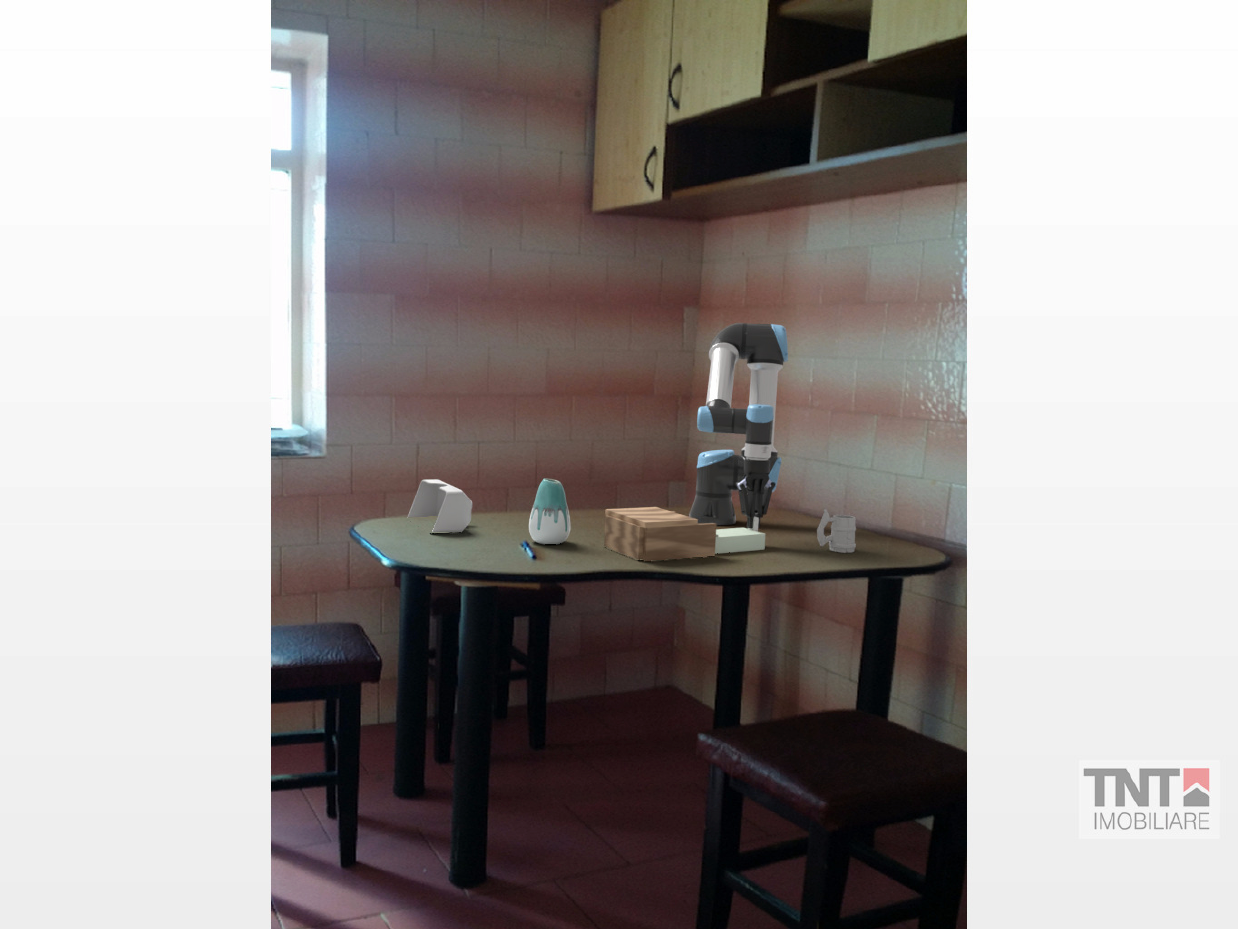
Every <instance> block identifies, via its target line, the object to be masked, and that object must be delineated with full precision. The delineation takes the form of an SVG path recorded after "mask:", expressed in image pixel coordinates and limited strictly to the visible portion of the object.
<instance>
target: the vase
mask: <svg viewBox="0 0 1238 929" xmlns="http://www.w3.org/2000/svg"><path fill="white" fill-rule="evenodd" d="M534 499H535V500H534V502H533V505H532V508H531V512H530V516H529V519H528V532H529V534H530V537H531V539H532V540H533V541H534V542H536V543H538V544H541V545H545V544H556V545H561V544H563V543H564V542H565V541H566V540H568V537H569V536H570V532H571V516H570V512H569V507H568V504H567V499H566V492H565V489H564V486H563V483H562V482H561V481H559V480H556V479H553V478H543V479H542V481H541V482H540V484H539V486H538V489H537V491H536V495H535V498H534ZM560 543H561V544H560Z"/></svg>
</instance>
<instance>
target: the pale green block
mask: <svg viewBox="0 0 1238 929" xmlns="http://www.w3.org/2000/svg"><path fill="white" fill-rule="evenodd" d="M765 547H766V533H764V532H762V531H759V530H758V531H754V530H750V529H748V528H747V527H734V528H721V529H717V528H716V542H715V555H716V554H717V553H718V554H727V553H729V552H730V553H738V552H739V553H740V552H750V551H760V550H761V551H762V550H763V551H764V550H765Z"/></svg>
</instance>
